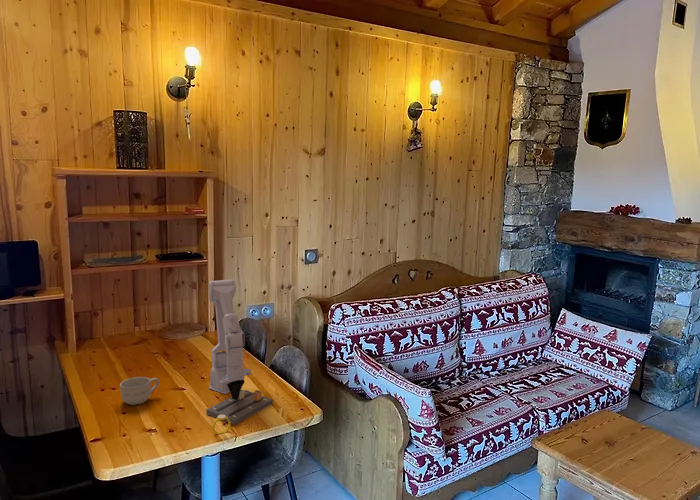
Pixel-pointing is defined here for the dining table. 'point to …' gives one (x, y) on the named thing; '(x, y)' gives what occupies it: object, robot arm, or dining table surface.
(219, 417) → the watch
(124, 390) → the teacup
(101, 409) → the dining table surface
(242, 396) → the fader ivory
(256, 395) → the fader orange
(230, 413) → the fader panel
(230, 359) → the robot arm
